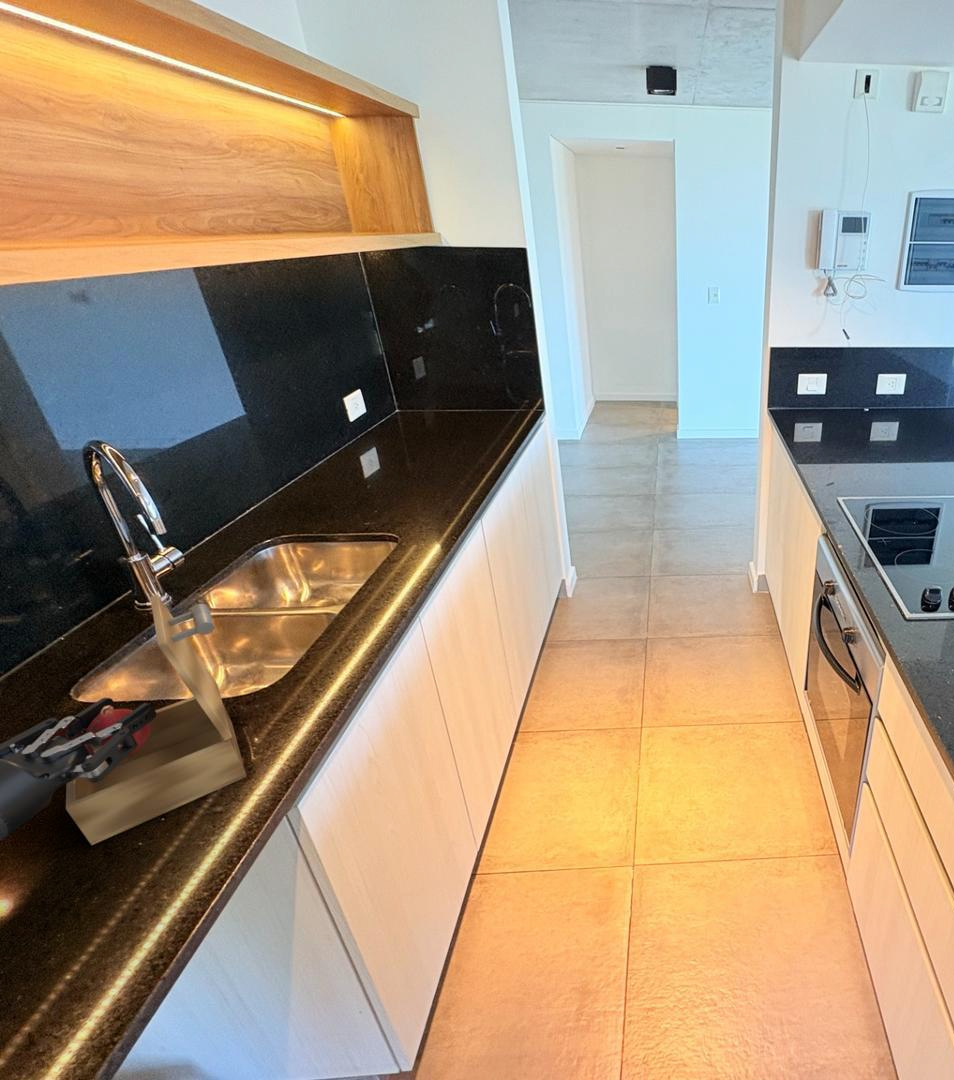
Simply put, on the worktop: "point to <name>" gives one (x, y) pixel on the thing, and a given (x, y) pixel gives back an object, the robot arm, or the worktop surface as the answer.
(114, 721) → the onion
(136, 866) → the worktop surface
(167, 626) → the lid
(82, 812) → the breadbox
